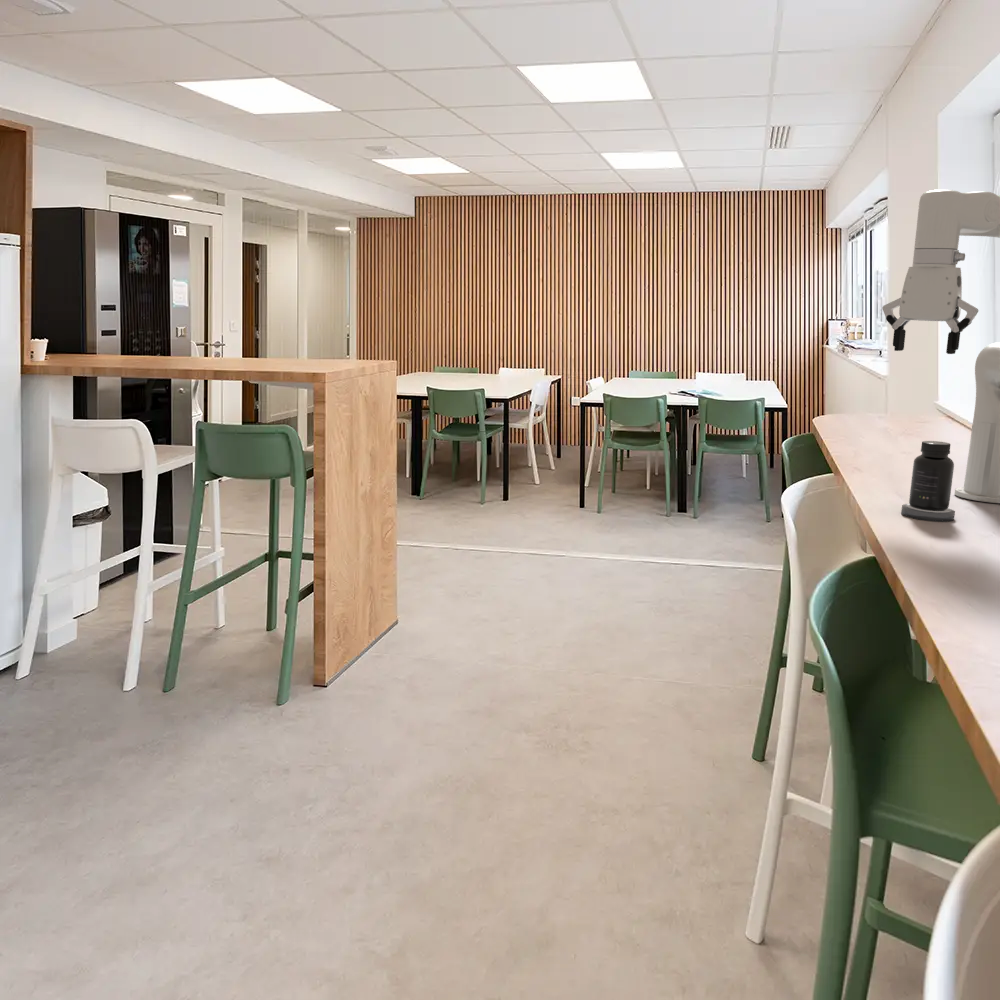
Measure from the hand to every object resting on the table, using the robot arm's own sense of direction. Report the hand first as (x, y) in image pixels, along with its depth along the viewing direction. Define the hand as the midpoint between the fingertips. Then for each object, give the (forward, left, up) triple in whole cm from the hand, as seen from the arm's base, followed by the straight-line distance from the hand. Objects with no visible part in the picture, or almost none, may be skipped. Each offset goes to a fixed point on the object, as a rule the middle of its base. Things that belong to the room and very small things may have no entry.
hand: (924, 352), depth 193 cm
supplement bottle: (+10, +8, -28) cm, 31 cm away
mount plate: (+10, +8, -29) cm, 32 cm away
